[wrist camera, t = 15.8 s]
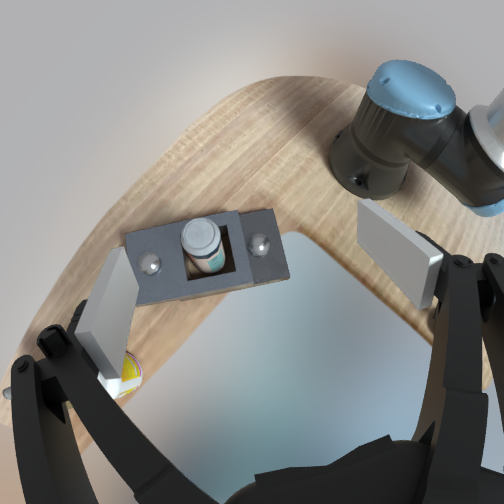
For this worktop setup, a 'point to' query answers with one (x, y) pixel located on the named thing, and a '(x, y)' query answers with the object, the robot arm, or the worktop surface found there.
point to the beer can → (204, 245)
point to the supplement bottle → (124, 378)
